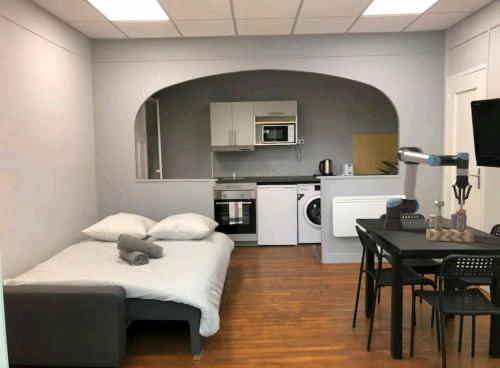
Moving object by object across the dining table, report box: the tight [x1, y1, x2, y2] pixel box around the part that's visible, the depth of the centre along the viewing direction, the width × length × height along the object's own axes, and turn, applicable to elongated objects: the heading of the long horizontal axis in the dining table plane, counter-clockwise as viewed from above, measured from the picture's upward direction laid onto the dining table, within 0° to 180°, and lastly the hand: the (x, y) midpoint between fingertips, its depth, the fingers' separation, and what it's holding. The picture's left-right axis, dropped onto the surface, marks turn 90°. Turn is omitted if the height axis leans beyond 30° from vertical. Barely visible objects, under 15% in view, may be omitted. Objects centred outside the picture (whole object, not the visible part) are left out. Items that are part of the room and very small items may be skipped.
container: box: [450, 213, 468, 230], centre depth 314 cm, size 10×10×15 cm
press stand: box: [425, 215, 475, 243], centre depth 299 cm, size 28×12×16 cm, turn 78°
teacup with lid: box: [424, 212, 438, 228], centre depth 348 cm, size 12×9×12 cm
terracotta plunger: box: [455, 208, 467, 217], centre depth 297 cm, size 6×6×14 cm
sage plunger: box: [434, 200, 445, 217], centre depth 300 cm, size 6×6×14 cm
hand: (461, 209), depth 296 cm, fingers closed
